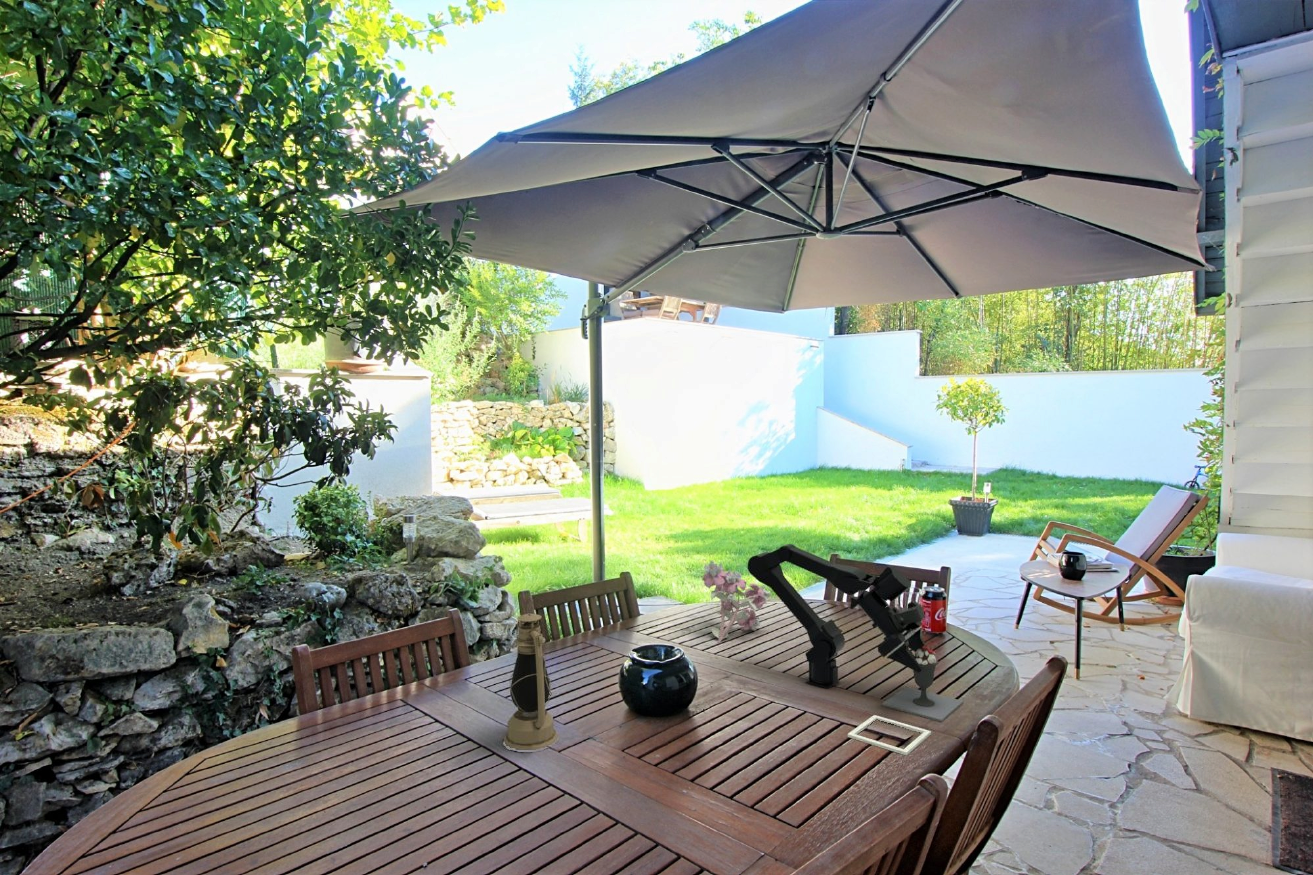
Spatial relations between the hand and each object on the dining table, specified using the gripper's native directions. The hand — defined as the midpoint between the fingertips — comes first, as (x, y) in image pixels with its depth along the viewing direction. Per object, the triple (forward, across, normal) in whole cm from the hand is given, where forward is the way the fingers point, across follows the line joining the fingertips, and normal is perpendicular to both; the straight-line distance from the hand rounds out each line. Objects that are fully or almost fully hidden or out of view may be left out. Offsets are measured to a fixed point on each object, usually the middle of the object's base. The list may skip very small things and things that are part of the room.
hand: (925, 665), depth 173 cm
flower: (-38, +25, +52) cm, 69 cm away
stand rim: (+5, -21, +8) cm, 23 cm away
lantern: (-39, -66, +53) cm, 93 cm away
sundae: (+6, 0, +7) cm, 9 cm away
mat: (+6, 0, +7) cm, 9 cm away
